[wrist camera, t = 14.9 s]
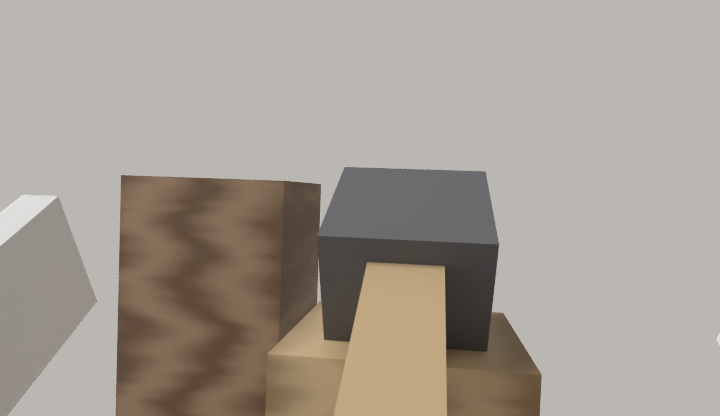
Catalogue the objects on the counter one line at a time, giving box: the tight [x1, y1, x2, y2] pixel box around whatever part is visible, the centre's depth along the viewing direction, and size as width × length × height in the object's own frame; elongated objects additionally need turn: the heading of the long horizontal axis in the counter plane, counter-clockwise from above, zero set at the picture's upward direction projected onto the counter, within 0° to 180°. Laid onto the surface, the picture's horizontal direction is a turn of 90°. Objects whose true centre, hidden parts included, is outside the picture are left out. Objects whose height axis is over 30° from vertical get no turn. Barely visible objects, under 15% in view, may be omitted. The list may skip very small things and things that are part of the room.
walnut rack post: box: [116, 175, 321, 416], centre depth 45 cm, size 12×13×32 cm
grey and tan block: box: [317, 167, 499, 416], centre depth 23 cm, size 8×21×6 cm, turn 173°
